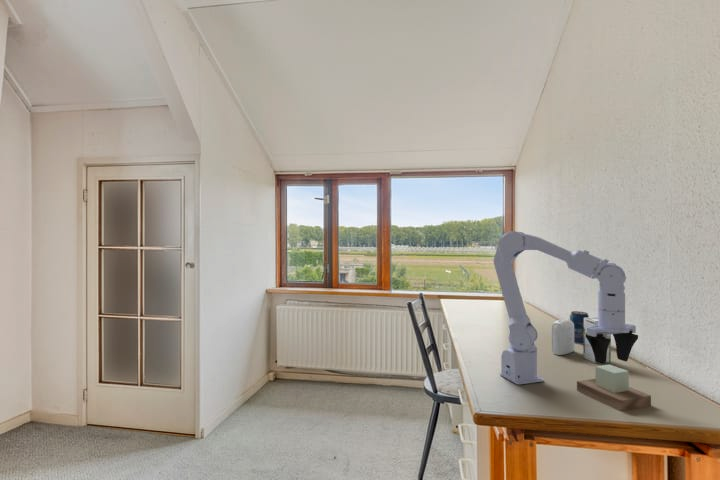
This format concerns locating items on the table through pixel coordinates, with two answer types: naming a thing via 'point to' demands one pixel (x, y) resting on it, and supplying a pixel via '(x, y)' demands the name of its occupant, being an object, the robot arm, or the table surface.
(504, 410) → the table surface
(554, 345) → the photo printer
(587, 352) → the syrup box
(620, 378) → the sage cube
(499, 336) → the table surface
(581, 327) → the soda can
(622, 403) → the walnut block
